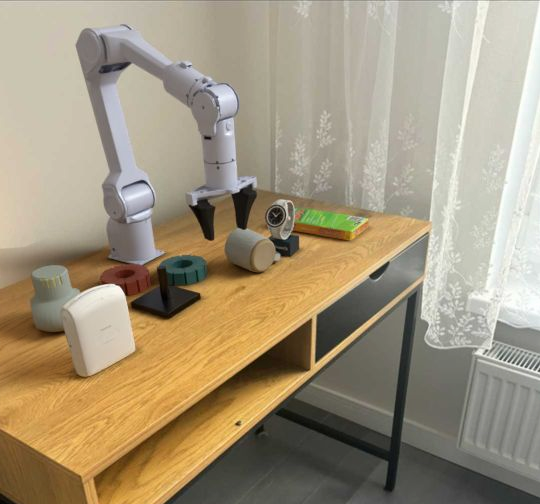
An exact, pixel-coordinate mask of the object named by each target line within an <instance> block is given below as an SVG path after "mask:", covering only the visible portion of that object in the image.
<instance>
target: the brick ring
mask: <svg viewBox="0 0 540 504" xmlns="http://www.w3.org/2000/svg"><path fill="white" fill-rule="evenodd" d="M150 273H151V272H150V270H149V268H148V267H147V266H145V265H138V264H137V265H135V264H130V263H125V265H124V264H120V265H114V266H113V267H110V268H109V267H108V268H107V269H105V270H104V271H103V272H102V273H101V274H100V275H99V280H100V285H105V284H115V285H116V286H119V287H120V288H121V289H122V290H123V292H124V294H125V297H127V296H128V297H130V296H134V295H138V294H139V293H140V294H141V293H143V292H145V291H146V290H148V288H150V286H151V284H152V280H151V274H150Z"/></svg>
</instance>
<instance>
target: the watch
mask: <svg viewBox="0 0 540 504" xmlns="http://www.w3.org/2000/svg"><path fill="white" fill-rule="evenodd" d="M294 207H295V205H294V203H293V201H292V200H289V199H283V198H280V199H277V200H276V201H275V202H273V203H272V204H271V205H270V206H269V207H267V209H266V211H265V214H264V221H265V223H266V226H267V230H268V231H269V233H270V236H269V237H267V238H268V239H269V240H271V241H272V242H273V244H274V246H275V251H276V252H278V253H280V256H284V257H292V256H293V255H294V254H296V253H297V252H298V251H300V235H298V234H297V235H296V234H291V233H292V232H293V227H294V220H295V214H294Z"/></svg>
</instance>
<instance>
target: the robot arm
mask: <svg viewBox="0 0 540 504" xmlns="http://www.w3.org/2000/svg"><path fill="white" fill-rule="evenodd" d="M74 45H75V49H76V53H77V57H78V61H79V64H80V67H81V71H82V72H81V73H82V75H83V79H84V82H85V86H86V89H87V93H88V98H89V100H90V105H91V108H92V112H93V115H94V119H95V123H96V127H97V130H98V134H99V138H100V141H101V145H102V148H103V152H104V156H105V159H106V163H107V167H108V170H109V172H108V174H107V176H106V177H105V178H104V181H103V182H102V184H101V189H102V193H103V194H102V195H103V197H102V200H103V201H102V202H103V208H104V210H105V212H106V214H107V215H108V216H109V218H108V220H107V222H106V226H105V227H106V235H107V241H108V246H109V251H110V254H108V259H110V260H114V261H117V262H118V261H119V262H121V263H125V264H135V265H137V264H138V265H142V266H144V265H146V264H147V263H149V262H151V261H154V260H155V259H157V258H159V257H162V256H163V255H164V254H165V253H166V252H165V250H161V249H157V248H156V244H155V236H154V231H153V223H152V216H151V215H152V214H154V212H153V209H154V208H155V206H156V204H157V194H156V191H155V189H154V187H153V185H152V183H151V181H150V178H149V175H148V173H146V171H143V170H142V169H140V168H139V167H137V163H136V159H135V154H134V151H133V147H132V144H131V139H130V135H129V131H128V128H127V124H126V123H127V122H126V120H125V116H124V115H125V114H124V111H123V108H122V104H121V99H120V96H119V92H118V87H117V82H118V80H119V79H120V77H121V74H122V73H124V72H125V71H126V70H127V69H128V68H129V67H130V66H131V65H132V64H133V65H135V66H136V67H138V68H140V69H141V70H142V71H144V72H147V73H148V74H150V75H151V76H153V77H155V78H157V79H158V80H160V81H161V82H162V86H163V88H164V91H165V92H166V93H167V94H169V95H170V96H172V97H173V98H174V99H176V100H177V101H179V102H180V103H182V104H183V105H185V106H186V107H187V108H189V109H190V111H191V114H192V116H193V118H194V120H195V122H196V123H197V131H198V133H199V135H200V137H201V147H202V158H203V159H202V160H203V169H204V179H205V184H203V185H200V186H198V187H196V188H195V189H193V190H190V191H187V192H185V195H184V196H185V203H186V204H187V206H188V207H189V209H190V210H191V212H192V213H193V214H194V216H195V218H196V219H197V222H198V224H199V226H200V228H201V232H202V234H203V237H204V239H205V240H207V241H210V242H213V241H215V225H214V224H215V223H214V219H215V212H216V206H215V205H213V204H211V202H210V201H209V200H213V199H216V198H221V197H224V196H227V195H231V197H232V203H233V207H234V214H235V223H236V228H240V229H242V230H246V229H247V228H248V223H249V217H250V214H251V210H252V208H253V206H254V203H255V201H256V199H257V198H258V191H257V190H254V189H256V188H258V180H257V178H258V177H257V176H254V175H245V176H239V177H238V166H237V165H238V164H237V150H236V149H237V148H236V135H235V119H234V118H235V117H236V116H237V115H238V113H239V111H240V104H241V103H240V102H241V101H240V97H239V94H238V92H237V91H236V89H235V88H234V87H233V86H232V85H231V84H230V83H229V82H226V81H225V82H223V81H222V82H219V83H217V82H216V81H214V79H213V78H212V77H211V76H209V75H207V76H206V75H204V74H203V73H201V72H200V71H198V70H197V69H195V68H194V67H193V63H192V62H190V61H189V60H176V61H174V62H173V61H172V60H170V58H169V59H168V57H166V56H165V54H163V53H161V52H160V51H159V50H157V49H156V48H155V47H154V46H152V45H151V44H150V43H149V42H147V41H146V40H144V39H143V37H142V34H141V32H140V31H139V30H137V29H134V28H133V27H132V26H131V25H129V24H127V23H121V24H119V25H113V26H112V25H111V26H102V27H93V28H92V27H86V28H83V29H82V30H81V31H80V33H79V36H78V38H77V40H76V42H75V44H74Z"/></svg>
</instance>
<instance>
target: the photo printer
mask: <svg viewBox="0 0 540 504" xmlns="http://www.w3.org/2000/svg"><path fill="white" fill-rule="evenodd" d="M60 315H61V319H62V323H63V327H64V331H63V332H64V334H65V338H66V341H67V342H66V343H67V346H68V349H69V353H70V358H71V362H72V365H73V368H74V369H75V373H76V374H77V375H78V376H80V377H84V378H88V377H91V376H93V375H95V374H97V373H99V372H101V371H103V370H105V369H107V368H109V367H111V366H112V365H114V364H116V363H118V362H119V361H122V360H123V359H125V358H127V357H128V356H130V355H132V354H133V353H134V352H136V343H135V338H134V332H133V328H132V323H131V318H130V313H129V307H128V302H127V296H125V294H124V292H123V290H122V289H121V288H120V287H119V286H116V285H115V284H105V285H101V284H100V285H96V286H93V287H90V288H88V289H86V290H83V291H82V292H81V291H80V294H78V295H76V296H75V297H73V298H72V299H70V300H69V301H68V302H67V303H66V304H65V305H64V306H63V307H62V308H61V310H60Z"/></svg>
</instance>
